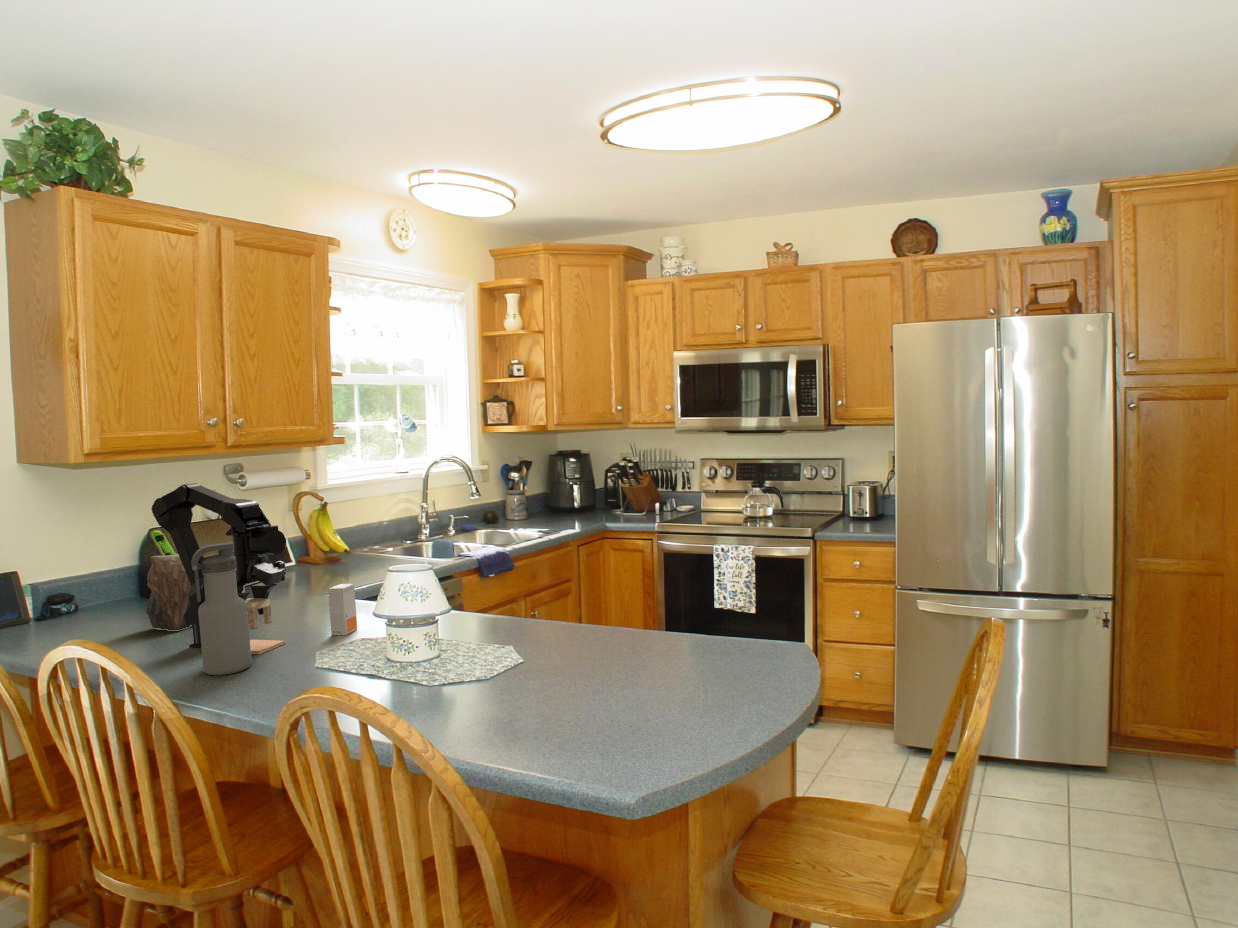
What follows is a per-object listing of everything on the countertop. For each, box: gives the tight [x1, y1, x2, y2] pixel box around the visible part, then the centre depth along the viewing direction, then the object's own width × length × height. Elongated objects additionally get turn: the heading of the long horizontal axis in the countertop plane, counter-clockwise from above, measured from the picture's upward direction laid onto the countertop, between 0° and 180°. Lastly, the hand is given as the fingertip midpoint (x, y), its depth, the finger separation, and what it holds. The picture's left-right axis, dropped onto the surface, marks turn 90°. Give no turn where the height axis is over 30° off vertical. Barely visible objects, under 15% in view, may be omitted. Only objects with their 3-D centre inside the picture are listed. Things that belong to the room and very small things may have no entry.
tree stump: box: [145, 553, 192, 630], centre depth 240 cm, size 13×13×20 cm
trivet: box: [250, 639, 286, 655], centre depth 210 cm, size 10×9×1 cm
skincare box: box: [327, 583, 358, 636], centre depth 220 cm, size 6×4×12 cm
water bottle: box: [192, 541, 252, 676], centre depth 192 cm, size 10×10×28 cm
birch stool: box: [246, 597, 273, 630], centre depth 209 cm, size 6×6×6 cm
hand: (252, 617), depth 209 cm, fingers closed on birch stool, 6 cm apart
